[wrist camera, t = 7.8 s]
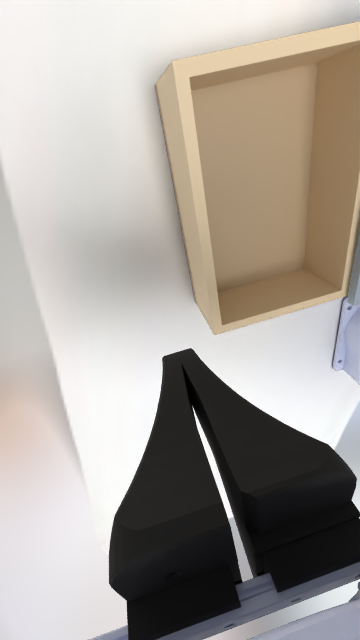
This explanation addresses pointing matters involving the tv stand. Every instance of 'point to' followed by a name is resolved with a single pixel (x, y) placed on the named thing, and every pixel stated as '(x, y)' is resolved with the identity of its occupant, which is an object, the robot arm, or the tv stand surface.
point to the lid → (355, 279)
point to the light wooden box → (266, 172)
